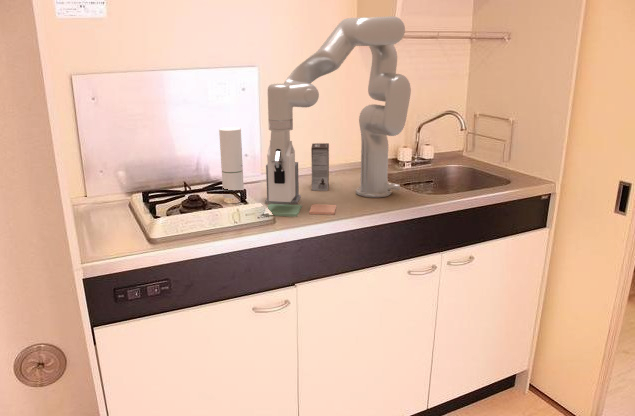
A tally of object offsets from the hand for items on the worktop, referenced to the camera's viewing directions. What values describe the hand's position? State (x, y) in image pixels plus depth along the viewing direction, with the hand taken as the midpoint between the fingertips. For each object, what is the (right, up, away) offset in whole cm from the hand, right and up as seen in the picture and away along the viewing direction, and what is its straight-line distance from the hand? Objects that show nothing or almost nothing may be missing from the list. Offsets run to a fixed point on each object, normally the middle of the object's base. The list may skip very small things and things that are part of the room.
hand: (281, 179), depth 171 cm
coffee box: (+12, -1, +31) cm, 33 cm away
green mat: (0, -10, +3) cm, 11 cm away
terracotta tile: (+13, -10, +4) cm, 17 cm away
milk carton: (0, -6, +2) cm, 7 cm away
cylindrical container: (-18, -7, +15) cm, 24 cm away
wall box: (-1, -6, +15) cm, 16 cm away
